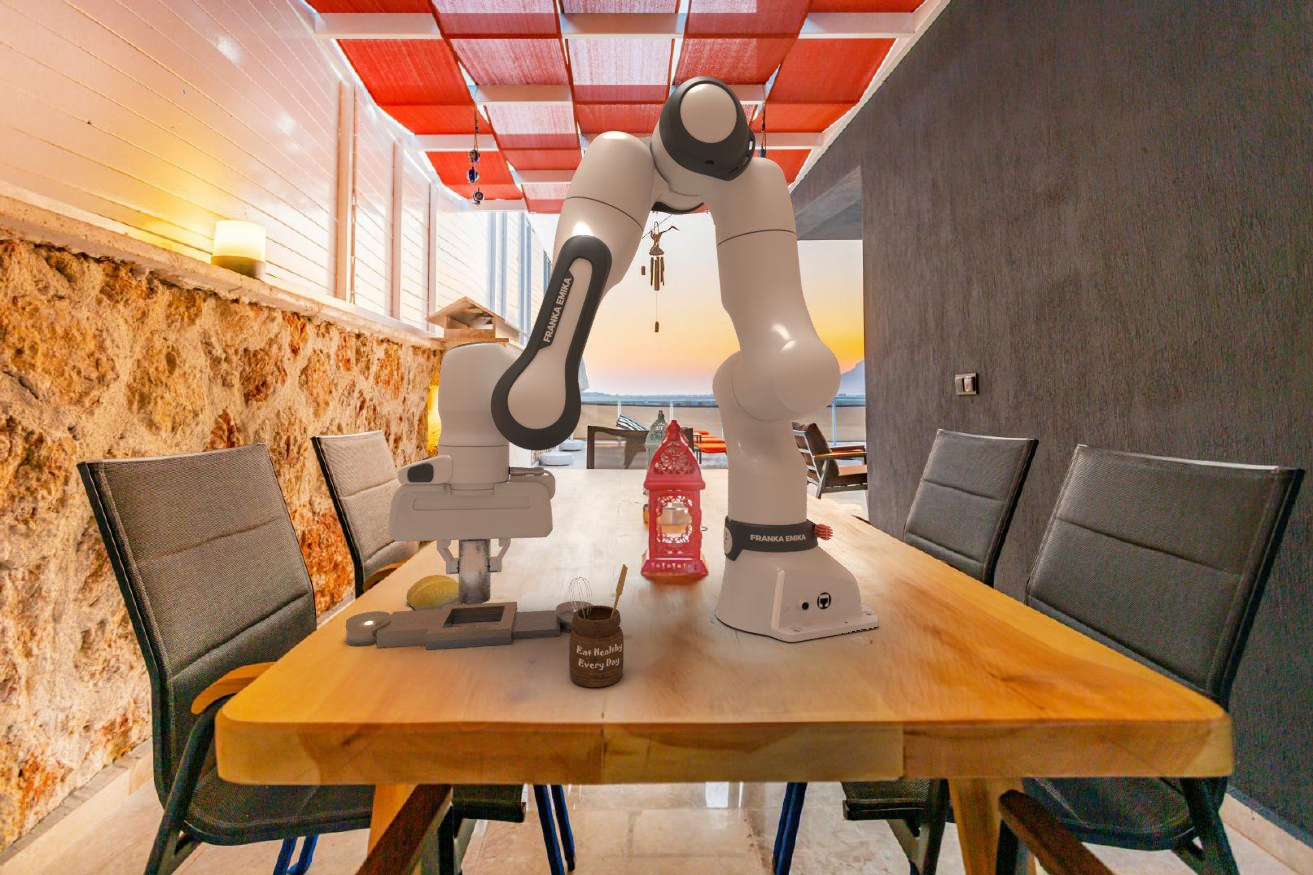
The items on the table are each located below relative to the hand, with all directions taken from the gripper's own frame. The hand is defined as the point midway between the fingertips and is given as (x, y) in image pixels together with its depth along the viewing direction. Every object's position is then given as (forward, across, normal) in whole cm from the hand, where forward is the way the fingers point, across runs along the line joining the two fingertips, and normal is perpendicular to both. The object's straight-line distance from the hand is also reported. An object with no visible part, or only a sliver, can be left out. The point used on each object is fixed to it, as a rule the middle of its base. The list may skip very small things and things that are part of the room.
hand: (474, 572), depth 71 cm
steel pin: (+4, 0, 0) cm, 4 cm away
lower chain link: (+8, -5, 0) cm, 10 cm away
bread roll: (+8, +7, -13) cm, 17 cm away
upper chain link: (+8, +5, 0) cm, 9 cm away
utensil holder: (+8, -15, +15) cm, 23 cm away
